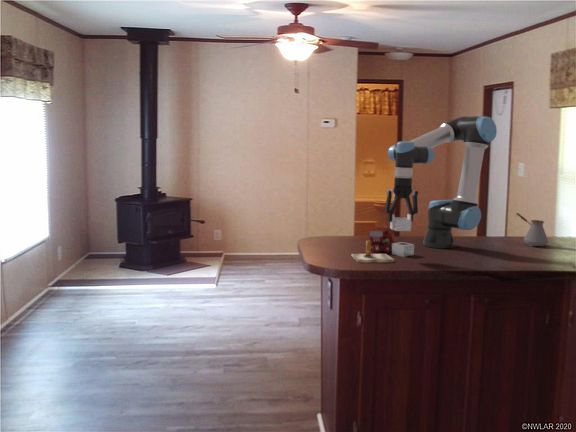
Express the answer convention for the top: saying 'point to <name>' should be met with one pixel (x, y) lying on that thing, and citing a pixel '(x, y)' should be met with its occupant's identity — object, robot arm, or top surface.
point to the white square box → (402, 224)
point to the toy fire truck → (380, 241)
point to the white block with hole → (403, 249)
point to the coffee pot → (535, 233)
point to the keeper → (371, 256)
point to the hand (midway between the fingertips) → (400, 228)
